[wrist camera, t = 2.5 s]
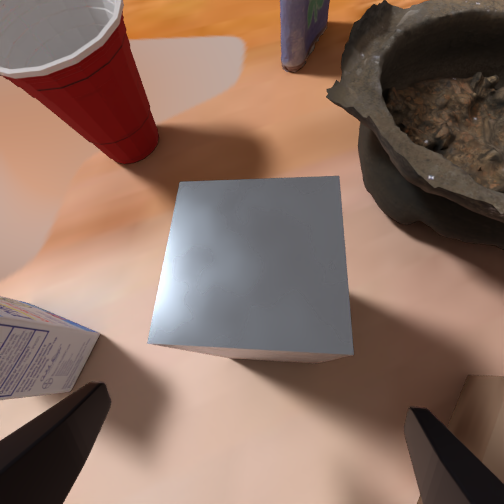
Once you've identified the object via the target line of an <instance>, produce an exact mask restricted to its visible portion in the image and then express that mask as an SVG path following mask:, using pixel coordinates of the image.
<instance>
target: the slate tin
mask: <svg viewBox="0 0 504 504" xmlns="http://www.w3.org/2000/svg"><path fill="white" fill-rule="evenodd" d="M147 343H148V344H153V345H159V346H164V347H170V348H175V349H181V350H186V351H192V352H198V353H203V354H209V355H214V356H220V357H225V358H233V359H250V360H266V361H282V362H298V363H315V364H317V363H321V362H326V361H330V360H334V359H339V358H343V357H347V356H352V355H354V351H353V338H352V326H351V314H350V302H349V289H348V277H347V265H346V253H345V240H344V228H343V216H342V204H341V191H340V179H339V176H323V177H296V178H269V179H242V180H214V181H187V182H180V183H179V188H178V193H177V198H176V203H175V208H174V213H173V218H172V223H171V228H170V233H169V238H168V243H167V248H166V253H165V258H164V263H163V268H162V273H161V278H160V283H159V287H158V292H157V297H156V302H155V307H154V312H153V317H152V322H151V327H150V332H149V337H148V342H147Z"/></svg>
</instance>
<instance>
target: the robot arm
mask: <svg viewBox="0 0 504 504" xmlns="http://www.w3.org/2000/svg"><path fill="white" fill-rule="evenodd" d="M110 407H111V398H110V395H109V392H108V389H107V386H106V384H105V383H104V382H97V381H92V382H89V383H88V384H86V385H85V386H83V387H82V388H80V389H79V390H77V391H75V392H74V393H72V394H71V395H69V396H68V397H66V398H65V399H63V400H62V401H60V402H59V403H57V404H56V405H54V406H53V407H51V408H50V409H48V410H47V411H45V412H43V413H42V414H40V415H39V416H37V417H36V418H34V419H33V420H31V421H30V422H28V423H27V424H25V425H24V426H22V427H21V428H19V429H18V430H16V431H14V432H13V433H11V434H10V435H8V436H7V437H5V438H4V439H2V440H1V441H0V504H63V502H64V501H65V499H66V497H67V495H68V493H69V492H70V490H71V488H72V486H73V484H74V483H75V481H76V479H77V477H78V475H79V473H80V472H81V470H82V468H83V466H84V464H85V462H86V460H87V458H88V456H89V454H90V452H91V449H92V447H93V445H94V443H95V441H96V438H97V436H98V434H99V432H100V430H101V427H102V425H103V423H104V421H105V419H106V416H107V414H108V412H109V410H110ZM404 434H405V439H406V442H407V446H408V450H409V454H410V457H411V461H412V465H413V469H414V473H415V476H416V480H417V484H418V488H419V492H420V495H421V499H422V502H423V504H504V483H503V482H502V481H501V480H500V479H499V478H498V477H497V476H496V475H495V474H494V473H493V472H492V471H491V470H490V469H489V468H488V467H486V466H485V465H484V464H483V463H482V462H481V461H480V460H479V459H478V458H477V457H476V456H475V455H474V454H473V453H472V452H471V451H470V450H469V449H468V448H467V447H466V446H465V445H464V444H463V443H462V442H461V441H460V440H459V439H458V438H457V437H456V436H455V435H454V434H453V433H452V432H451V431H450V430H449V429H448V428H447V427H446V426H445V425H444V424H443V423H442V422H441V421H440V420H439V419H438V418H437V417H436V416H435V415H434V414H433V413H432V412H430V411H429V410H428V409H427V408H424V407H414V406H411V407H409V408H408V412H407V416H406V420H405V425H404Z"/></svg>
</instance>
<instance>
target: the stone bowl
mask: <svg viewBox="0 0 504 504" xmlns="http://www.w3.org/2000/svg"><path fill="white" fill-rule="evenodd" d="M341 69H342V76H341V80H340V82H338V81H337V80H336V81H335V83H334V85H333V87H332V88H329V89H327V93H328V95H327V96H326V97H327V98H328V99H329V100H330V101H332V102H333V103H334V104H336V105H338V106H340V107H342V108H343V109H344V110H346V111H347V112H348V113H349V114H351V115H352V116H354V117H355V118H357V119H358V120H359V121H360V128H359V140H358V151H359V158H360V164H361V170H362V174H363V181H364V185H365V188H366V189H367V191H368V192H369V193H370V194H371V195H372V196H373V197H374V199H375V202H376V203H377V205H378V206H379V208H380V209H381V210H382V211H383V212H384V213H385V214H386V215H388V216H389V217H391V218H392V219H394V220H396V221H397V222H399V223H402V224H405V225H406V224H411V223H414V222H416V221H422V222H423V223H425V224H427V225H428V226H430V227H431V228H432V229H433V230H434V231H435V232H437V233H438V234H440V235H442V236H444V237H447V238H453V239H458V240H460V241H463V242H466V243H476V244H487V245H496V246H497V247H498V248H501V249H503V250H504V0H429V1H425V2H423V3H420V4H417V5H412V6H411V7H410V8H408V9H402V8H399V7H396V6H393V5H390V4H389V3H388V2H387V1H386V0H383V2H382V3H381V4H380V3H379V4H378V5H375V4H373V5H372V6H371V8H369V9H368V10H367V11H366V12H365V14H364V15H363V16H362V18H361V19H360V20H358V21H356V22H355V23H354V25H353V27H352V30H351V33H350V37H349V41H348V42H347V43H346V44H345V50H344V52H343V54H342V61H341Z"/></svg>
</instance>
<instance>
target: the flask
mask: <svg viewBox="0 0 504 504" xmlns="http://www.w3.org/2000/svg"><path fill="white" fill-rule="evenodd" d="M329 2H330V0H280V8H281V13H280V17H281V53H282V55H281V62H282V67H283V69H284V70H285V71H293V72H296V71H297V70H298V69H300V68H301V67H303V66H304V64H306V59H307V57H308V56H309V55H310V54H311V53H312V51H314V48H315V42H316V41H319V36H320V35H323V32H324V31H325V30H326V29H327V20H328V9H329ZM284 66H285V67H286V68H287V69H288V70H287V69H286V68H285V67H284Z"/></svg>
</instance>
